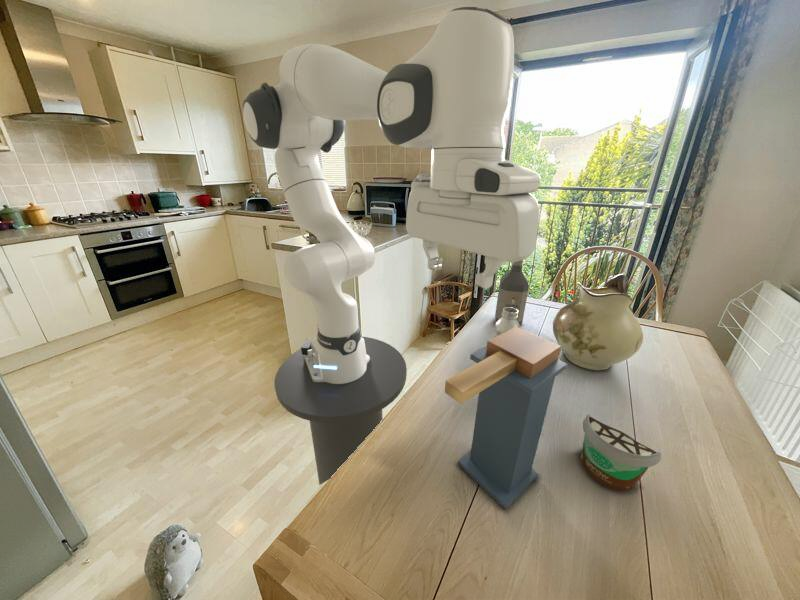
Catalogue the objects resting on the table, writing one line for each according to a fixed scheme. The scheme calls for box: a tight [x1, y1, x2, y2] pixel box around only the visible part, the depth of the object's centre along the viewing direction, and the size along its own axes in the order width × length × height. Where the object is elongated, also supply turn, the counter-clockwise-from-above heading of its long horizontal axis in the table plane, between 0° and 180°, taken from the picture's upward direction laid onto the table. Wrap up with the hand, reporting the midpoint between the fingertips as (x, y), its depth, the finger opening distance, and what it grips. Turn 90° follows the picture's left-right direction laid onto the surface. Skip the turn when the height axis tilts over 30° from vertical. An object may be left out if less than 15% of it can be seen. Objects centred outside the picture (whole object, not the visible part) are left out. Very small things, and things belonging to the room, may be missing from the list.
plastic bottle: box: [493, 307, 521, 337], centre depth 83 cm, size 6×7×20 cm
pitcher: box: [552, 273, 644, 371], centre depth 90 cm, size 22×24×25 cm
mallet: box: [444, 326, 562, 405], centre depth 46 cm, size 8×20×2 cm, turn 128°
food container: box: [580, 412, 663, 492], centre depth 57 cm, size 12×6×10 cm, turn 40°
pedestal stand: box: [457, 345, 568, 510], centre depth 55 cm, size 11×10×26 cm
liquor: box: [494, 260, 530, 328], centre depth 109 cm, size 9×9×30 cm
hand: (457, 277), depth 45 cm, fingers open, 8 cm apart
